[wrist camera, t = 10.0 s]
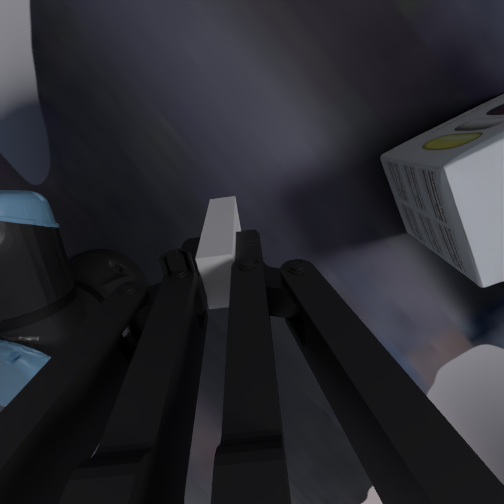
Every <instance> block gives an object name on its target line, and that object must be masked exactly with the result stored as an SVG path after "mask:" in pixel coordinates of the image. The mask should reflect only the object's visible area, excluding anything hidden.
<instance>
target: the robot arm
mask: <svg viewBox="0 0 504 504" xmlns="http://www.w3.org/2000/svg"><path fill="white" fill-rule="evenodd" d="M58 228H59V225H58V224H57V223H56V221H55V219H54V216H53V213H52V211H51V208H50V205H49V203H48V201H47V200H46V198H45V197H43V196H42V195H41V194H39V193H36V192H33V191H22V190H0V405H1V406H5V408H4V409H3V410H2V411H1V412H0V504H184V495H185V486H186V478H187V471H188V463H189V456H190V448H191V441H192V433H193V426H194V419H195V411H196V404H197V396H198V389H199V381H200V374H201V366H202V359H203V351H204V344H205V336H206V329H207V321H208V314H207V310H206V303H208V307H209V309H215V308H223V307H229V315H228V332H227V350H226V367H225V385H224V402H223V420H222V436H221V443H220V445H219V446H218V447H217V449H216V453H215V459H214V468H213V482H212V496H211V504H291V497H290V489H289V481H288V472H287V463H286V455H285V446H284V437H283V429H282V420H281V411H280V402H279V394H278V385H277V376H276V368H275V359H274V350H273V342H272V333H271V324H270V316H276V317H284V318H285V321H286V323H287V325H288V327H289V329H290V331H291V333H292V335H293V336H294V338H295V340H296V342H297V344H298V346H299V348H300V349H301V351H302V353H303V355H304V357H305V359H306V361H307V363H308V364H309V366H310V368H311V370H312V372H313V374H314V376H315V378H316V379H317V381H318V383H319V385H320V387H321V389H322V391H323V393H324V394H325V396H326V398H327V400H328V402H329V404H330V406H331V407H332V409H333V411H334V413H335V415H336V417H337V419H338V421H339V422H340V424H341V426H342V428H343V430H344V432H345V434H346V436H347V437H348V439H349V441H350V443H351V445H352V447H353V449H354V451H355V452H356V454H357V456H358V458H359V460H360V462H361V464H362V466H363V467H364V469H365V471H366V473H367V475H368V477H369V479H370V480H371V482H372V484H373V486H374V488H375V490H376V492H377V493H378V495H379V497H380V499H381V501H382V503H383V504H504V485H503V484H502V483H501V482H500V481H499V480H498V478H497V477H496V476H495V475H494V474H493V473H492V472H491V470H490V469H489V468H488V467H487V466H486V465H485V463H484V462H483V461H482V460H481V459H480V458H479V457H478V455H477V454H476V453H475V452H474V451H473V450H472V448H471V447H470V446H469V445H468V444H467V443H466V441H465V440H464V439H463V438H462V437H461V436H460V435H459V433H458V432H457V431H456V430H455V429H454V427H453V426H452V425H451V424H450V423H449V422H448V421H447V419H446V418H445V417H444V416H443V415H442V414H441V413H440V411H439V410H438V409H437V408H436V407H435V405H434V404H433V403H432V402H431V401H430V400H429V399H428V397H427V396H426V395H425V394H424V393H423V392H422V390H421V389H420V388H419V387H418V386H417V385H416V383H415V382H414V381H413V380H412V379H411V378H410V377H409V375H408V374H407V373H406V372H405V371H404V370H403V368H402V367H401V366H400V365H399V364H398V363H397V361H396V360H395V359H394V358H393V357H392V356H391V354H390V353H389V352H388V351H387V350H386V349H385V348H384V346H383V345H382V344H381V343H380V342H379V341H378V339H377V338H376V337H375V336H374V335H373V334H372V332H371V331H370V330H369V329H368V328H367V327H366V326H365V324H364V323H363V322H362V321H361V320H360V319H359V317H358V316H357V315H356V314H355V313H354V312H353V310H352V309H351V308H350V307H349V306H348V305H347V304H346V302H345V301H344V300H343V299H342V298H341V297H340V295H339V294H338V293H337V292H336V291H335V290H334V288H333V287H332V286H331V285H330V284H329V283H328V282H327V280H326V279H325V278H324V277H323V276H322V275H321V273H320V272H319V271H318V270H317V269H316V268H315V266H314V265H313V264H312V263H310V262H309V261H306V260H302V259H295V260H290V261H287V262H285V263H284V264H283V265H282V266H281V268H272V267H269V266H267V265H266V264H265V263H264V262H263V257H262V250H261V242H260V234H259V233H258V232H257V231H256V230H255V229H254V230H247V231H241V228H240V222H239V216H238V210H237V204H236V198H235V196H232V197H225V198H217V199H210V203H209V207H208V211H207V215H206V218H205V222H204V226H203V230H202V234H201V237H198V238H190V239H187V240H186V241H185V242H184V243H183V244H182V247H181V249H174V250H170V251H168V252H166V253H164V254H163V255H161V256H160V258H159V259H158V260H159V263H160V265H161V268H162V271H163V274H164V277H163V280H162V282H160V283H158V284H155V285H152V286H149V287H148V286H147V282H146V280H145V278H144V276H143V274H142V272H141V271H140V270H139V268H138V267H137V266H136V265H135V264H134V263H133V262H132V261H130V260H129V259H128V258H126V257H125V256H123V255H121V254H119V253H117V252H114V251H110V250H105V249H94V250H90V251H87V252H85V253H83V254H81V255H79V256H78V257H76V258H74V259H73V260H72V261H71V262H70V263H69V262H68V259H67V255H66V252H65V249H64V245H63V242H62V239H61V236H60V232H59V229H58ZM126 328H127V330H128V334H127V335H126V336H125V337H123V335H122V333H123V331H124V330H125V329H126ZM99 443H100V444H99ZM98 445H99V446H98ZM97 446H98V449H97V451H96V453H95V454H94V455H93V453H94V451H95V450H96V448H97ZM92 455H93V456H92ZM91 456H92V457H91Z"/></svg>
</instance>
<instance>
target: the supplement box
mask: <svg viewBox="0 0 504 504" xmlns="http://www.w3.org/2000/svg"><path fill="white" fill-rule="evenodd" d="M380 159H381V162H382V165H383V168H384V171H385V174H386V176H387V179H388V182H389V185H390V187H391V190H392V193H393V196H394V198H395V201H396V204H397V207H398V209H399V212H400V215H401V218H402V220H403V223H404V226H405V228H406V231H407V232H408V233H409V234H410V235H412V236H413V237H415V238H416V239H417V240H419V241H420V242H421V243H423V244H424V245H425V246H427V247H428V248H429V249H431V250H432V251H433V252H435V253H436V254H437V255H439V256H440V257H441V258H443V259H444V260H445V261H447V262H448V263H450V264H451V265H452V266H454V267H455V268H456V269H457V270H459V271H460V272H461V273H463V274H464V275H466V276H467V277H468V278H470V279H471V280H472V281H473V282H475V283H476V284H477V285H478V286H480V287H487V286H490V285H493V284H496V283H499V282H502V281H504V94H502V95H500V96H498V97H496V98H494V99H492V100H490V101H488V102H486V103H483V104H481V105H479V106H477V107H475V108H473V109H471V110H469V111H467V112H465V113H463V114H461V115H459V116H457V117H455V118H453V119H451V120H449V121H447V122H445V123H443V124H441V125H439V126H437V127H435V128H433V129H431V130H429V131H426V132H424V133H422V134H420V135H418V136H416V137H414V138H412V139H410V140H408V141H406V142H404V143H402V144H400V145H399V146H397V147H395V148H393V149H391V150H389V151H387V152H386V153H384V154H382V155H381V157H380Z"/></svg>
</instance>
